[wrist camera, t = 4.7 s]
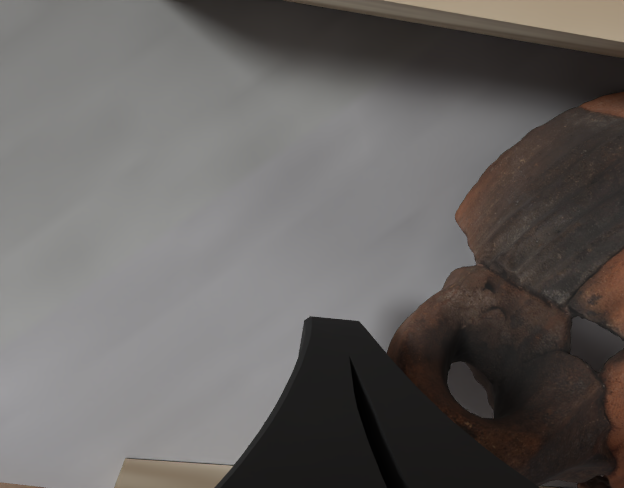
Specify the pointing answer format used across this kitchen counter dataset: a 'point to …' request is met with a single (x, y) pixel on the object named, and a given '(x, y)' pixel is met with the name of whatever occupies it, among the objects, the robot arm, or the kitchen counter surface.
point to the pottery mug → (537, 302)
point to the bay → (454, 15)
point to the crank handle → (16, 486)
